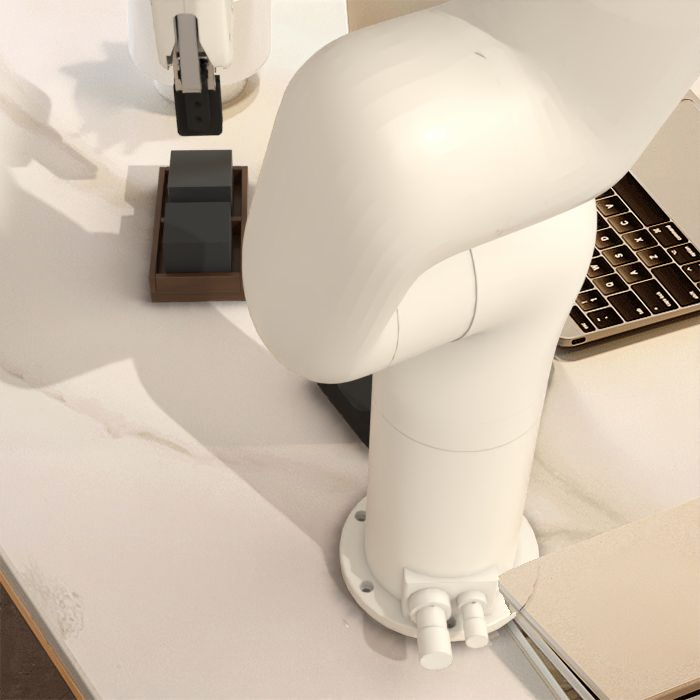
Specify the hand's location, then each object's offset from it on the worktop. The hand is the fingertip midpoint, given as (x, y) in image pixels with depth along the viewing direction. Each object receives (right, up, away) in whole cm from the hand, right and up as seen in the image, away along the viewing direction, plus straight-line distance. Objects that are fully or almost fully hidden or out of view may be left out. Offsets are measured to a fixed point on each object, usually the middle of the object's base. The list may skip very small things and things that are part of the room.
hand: (200, 129), depth 92 cm
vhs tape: (+16, -18, +1) cm, 25 cm away
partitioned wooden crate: (-1, -7, +12) cm, 14 cm away
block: (-1, -9, +9) cm, 12 cm away
